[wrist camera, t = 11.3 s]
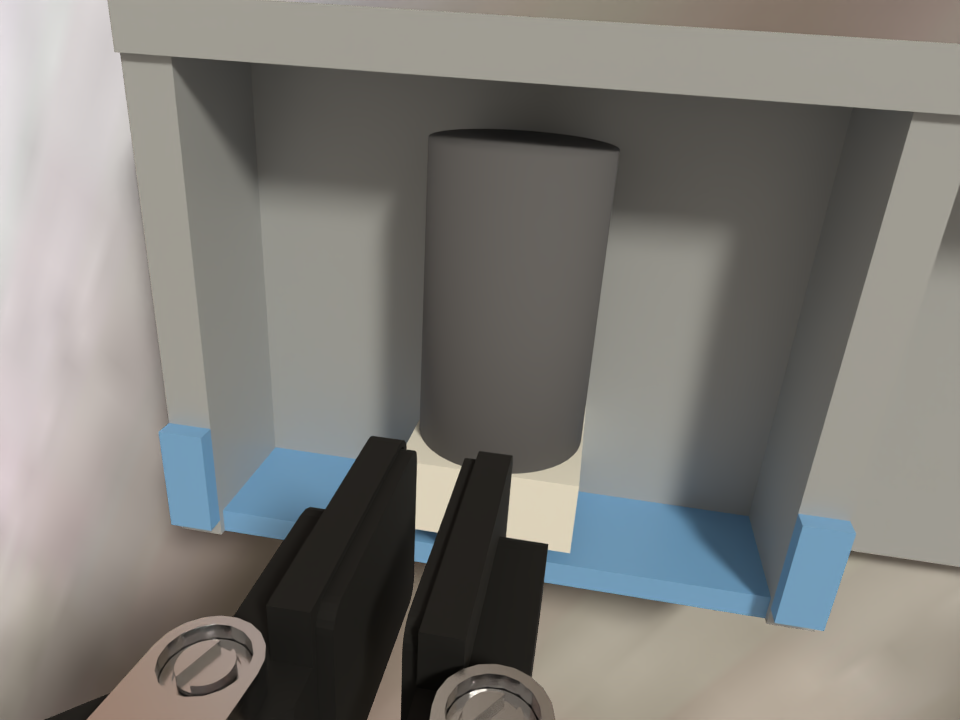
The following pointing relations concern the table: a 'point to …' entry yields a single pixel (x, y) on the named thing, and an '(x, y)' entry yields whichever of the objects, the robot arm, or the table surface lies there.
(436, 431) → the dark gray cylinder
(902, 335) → the divided grey tray
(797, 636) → the table surface
